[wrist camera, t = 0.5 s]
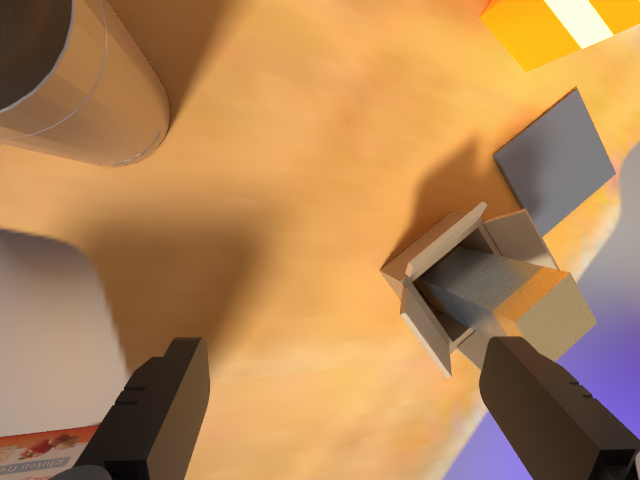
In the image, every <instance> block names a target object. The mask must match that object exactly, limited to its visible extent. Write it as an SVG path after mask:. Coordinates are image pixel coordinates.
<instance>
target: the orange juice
mask: <svg viewBox="0 0 640 480" xmlns="http://www.w3.org/2000/svg"><path fill="white" fill-rule="evenodd" d="M479 18H480V19H481V20H482V21H483V22H484V24H485V25H486V26H487V27H488V28H489V29H490V31H491V32H492V33H493V34H494V35H495V37H496V38H497V39H498V40H499V41H500V42H501V44H502V45H503V46H504V47H505V48H506V49H507V51H508V52H509V53H510V54H511V55H512V56H513V58H514V59H515V60H516V61H517V62H518V63H519V65H520V66H521V67H522V68H523V69H524V70H525V72H528V71H530V70H532V69H535V68H537V67H539V66H542V65H544V64H546V63H549V62H551V61H553V60H556V59H558V58H560V57H563V56H565V55H567V54H570V53H572V52H574V51H577V50H579V49H581V48H582V49H583V48H585V47H588V46H590V45H592V44H595V43H597V42H599V41H602V40H604V39H606V38H609V37H611V36H613V35H614V34H616V33H619V32H621V31H623V30H626V29H628V28H630V27H633V26H635V25H637V24H640V0H492V1H491V2H490V4H489V5H488V6H487V8H486V9H485V10H484V12H483V13H482V14H481V16H480V17H479Z"/></svg>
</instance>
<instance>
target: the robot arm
mask: <svg viewBox="0 0 640 480" xmlns="http://www.w3.org/2000/svg"><path fill="white" fill-rule="evenodd" d="M169 120H170V106H169V101H168V97H167V94H166V91H165V89H164V87H163V85H162V83H161V81H160V79H159V78H158V76H157V75H156V73H155V72H154V70H153V69H152V67H151V66H150V64H149V63H148V61H147V60H146V58H145V57H144V55H143V54H142V52H141V51H140V49H139V48H138V46H137V45H136V43H135V42H134V40H133V39H132V37H131V36H130V34H129V33H128V31H127V30H126V29H125V27H124V26H123V24H122V23H121V21H120V20H119V18H118V17H117V15H116V14H115V12H114V11H113V9H112V8H111V6H110V5H109V3H108V2H107V0H0V144H3V145H7V146H12V147H16V148H21V149H26V150H30V151H35V152H39V153H44V154H49V155H53V156H58V157H62V158H67V159H72V160H76V161H80V162H85V163H90V164H94V165H99V166H109V167H117V166H126V165H130V164H133V163H136V162H139V161H141V160H142V159H144V158H146V157H148V156H149V155H150V154H151V153H153V152H154V151H155V150H156V149H157V148H158V147H159V145H160V144H161V142H162V141H163V139H164V138H165V135H166V132H167V130H168V127H169ZM479 388H480V393H481V397H482V400H483V402H484V404H485V405H486V407H487V408H488V410H489V412H490V413H491V415H492V416H493V418H494V419H495V421H496V422H497V424H498V425H499V427H500V428H501V430H502V432H503V433H504V435H505V436H506V438H507V439H508V441H509V443H510V444H511V446H512V447H513V449H514V450H515V452H516V453H517V455H518V457H519V458H520V460H521V461H522V463H523V464H524V466H525V467H526V469H527V470H528V472H529V474H530V475H531V477H532V478H533V479H534V480H640V440H639V439H638V438H637V437H636V436H635V435H634V434H633V433H632V432H631V431H630V430H629V429H627V428H626V427H625V426H624V425H623V424H622V423H621V422H620V421H619V420H618V419H617V418H616V417H615V416H614V415H613V414H612V413H611V412H610V411H609V410H608V409H606V408H605V407H604V406H603V405H602V404H601V403H600V402H599V401H598V400H597V399H593V397H592V394H591V393H590V392H589V391H587V390H586V389H585V388H584V387H583V386H582V385H579V382H578V381H577V380H576V379H575V378H574V377H573V376H572V375H571V374H570V373H569V372H567V371H566V370H565V369H564V368H563V367H562V366H560V365H559V364H557V363H555V362H554V361H552V360H551V359H549V358H547V357H546V356H544V355H541V354H540V353H539V352H538V351H537V350H536V349H535V348H534V347H533V346H532V345H531V344H530V343H529V342H528V341H527V340H525V339H524V338H523V337H520V336H494V337H492V338H490V340H489V342H488V345H487V350H486V354H485V358H484V363H483V367H482V371H481V375H480V380H479ZM209 394H210V378H209V367H208V356H207V345H206V340H205V338H204V337H176V338H174V339H173V341H172V342H171V344H170V346H169V348H168V349H167V351H166V353H165V355H164V356H163V357H152V358H150V359H149V360H148V361H147V362H145V363H144V364H143V365H142V366H140V367H139V368H138V369H137V370H136V371H135V372H134V373H133V375H132V376H131V378H130V379H129V381H128V382H127V384H126V386H125V387H124V391H122V392H121V393H120V395H119V396H118V398H117V399H116V401H115V405H114V406H112V407H111V409H110V410H109V412H108V413H107V415H106V416H105V418H104V419H103V421H102V422H101V424H100V425H99V427H98V429H97V430H96V432H95V433H94V435H93V436H92V438H91V439H90V441H89V442H88V444H87V445H86V447H85V449H84V450H83V452H82V453H81V455H80V456H79V458H78V459H77V461H76V462H75V464H74V465H73V467H72V468H70V469H67V470H65V471H63V472H60V473H58V474H56V475H55V476H53V477H51V478H50V479H48V480H184V478H185V475H186V472H187V469H188V465H189V462H190V459H191V456H192V453H193V450H194V447H195V444H196V440H197V437H198V434H199V431H200V428H201V425H202V422H203V419H204V415H205V412H206V409H207V406H208V401H209Z"/></svg>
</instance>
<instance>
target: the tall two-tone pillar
mask: <svg viewBox="0 0 640 480" xmlns="http://www.w3.org/2000/svg"><path fill="white" fill-rule="evenodd" d="M414 282H415V283H416V285H417V286H418V288H419V289H420V291H421V292H422V294H423V295H424V296H425V298H426V299H427V301H428V302H429V304H430V305H431V306H432V307H434V308H436V309H438V310H439V311H441V312H443V313H445V314H446V315H448V316H450V317H452V318H453V319H455V320H457V321H459V322H460V323H462V324H464V325H466V326H467V327H469V328H471V329H473V330H474V331H476V332H478V333H480V334H481V335H483V336H485V337H487V338H488V339H490V338H492V337H494V336H520V337H523V338H524V339H525V340H527V341H528V342H529V343H530V344H531V345H532V346H533V347H534V348H535V349H536V350H537V351H538V352H539V353H540V354H541V355H544V356H546V357H547V358H549V359H551V360H552V361H554V362H555V361H556V360H557V359H558V358H559V357H560V356H561V355H563V354H564V353H565V352H566V351H567V350H568V349H569V348H570V347H571V346H572V345H573V344H574V343H576V341H578V340H579V339H580V338H581V337H582V336H583V335H584V334H585V333H586V332H588V331H589V330H590V329H591V328H592V327H593V326H594V325H595V324H596V323H597V322H596V320H595V318H594V316H593V314H592V312H591V310H590V308H589V307H588V305H587V303H586V301H585V299H584V297H583V295H582V293H581V292H580V290H579V288H578V286H577V284H576V282H575V280H574V279H573V277H572V275H571V273H570V272H565V271H561V270H557V269H553V268H548V267H544V266H540V265H535V264H531V263H527V262H523V261H518V260H514V259H510V258H505V257H501V256H497V255H493V254H488V253H484V252H480V251H475V250H471V249H467V248H463V247H458V246H455V247H454V248H452V249H451V250H450V251H449V252H448V253H446V254H445V255H444V256H443V257H442V258H440V259H439V260H438V261H437V262H436V263H434V264H433V265H432V266H431V267H430V268H428V269H427V270H426V271H425V272H424V273H422V274H421V275H420V276H419V277H418V278H416V279H415V280H414Z"/></svg>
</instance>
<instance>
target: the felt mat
mask: <svg viewBox="0 0 640 480" xmlns="http://www.w3.org/2000/svg"><path fill="white" fill-rule="evenodd" d="M493 157H494V159H495V161H496V162H497V164H498V166H499V168H500V170H501V171H502V173H503V175H504V177H505V179H506V181H507V182H508V184H509V186H510V188H511V190H512V191H513V193H514V195H515V197H516V199H517V201H518V202H519V204H520V206H521V208H522V209H525V208H526V209H527V211H528V213H529V215H530V217H531V218H532V220H533V222H534V224H535V226H536V228H537V229H538V231H539V233H540V235H541V237H543V236H544V235H545V234H547V233H548V232H549V231H550V230H551V229H552V228H553V227H555V226H556V225H557V224H558V223H559V222H560V221H562V220H563V219H564V218H565V217H566V216H567V215H569V214H570V213H571V212H572V211H573V210H574V209H575V208H577V207H578V206H579V205H580V204H581V203H582V202H584V201H585V200H586V199H587V198H588V197H589V196H591V195H592V194H593V193H594V192H595V191H596V190H598V189H599V188H600V187H601V186H602V185H603V184H604V183H606V182H607V181H608V180H609V179H610V178H611V177H613V176H614V175H615V174H616V173H615V171H614V169H613V166H612V164H611V162H610V160H609V157H608V155H607V153H606V151H605V149H604V146H603V144H602V142H601V140H600V138H599V135H598V133H597V131H596V129H595V127H594V124H593V122H592V120H591V118H590V116H589V113H588V111H587V109H586V107H585V105H584V102H583V100H582V98H581V96H580V93H579V91H578V89H574V90H573V91H572V92H570V93H569V94H568V95H567V96H565V97H564V98H563V99H562V100H560V101H559V102H558V103H557V104H556V105H554V106H553V107H552V108H551V109H549V110H548V111H547V112H546V113H544V114H543V115H542V116H541V117H539V118H538V119H537V120H536V121H535V122H533V123H532V124H531V125H530V126H528V127H527V128H526V129H525V130H523V131H522V132H521V133H520V134H518V135H517V136H516V137H515V138H514V139H512V140H511V141H510V142H509V143H507V144H506V145H505V146H504V147H502V148H501V149H500V150H499V151H497V152H496V153H495V154H494V155H493Z"/></svg>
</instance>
